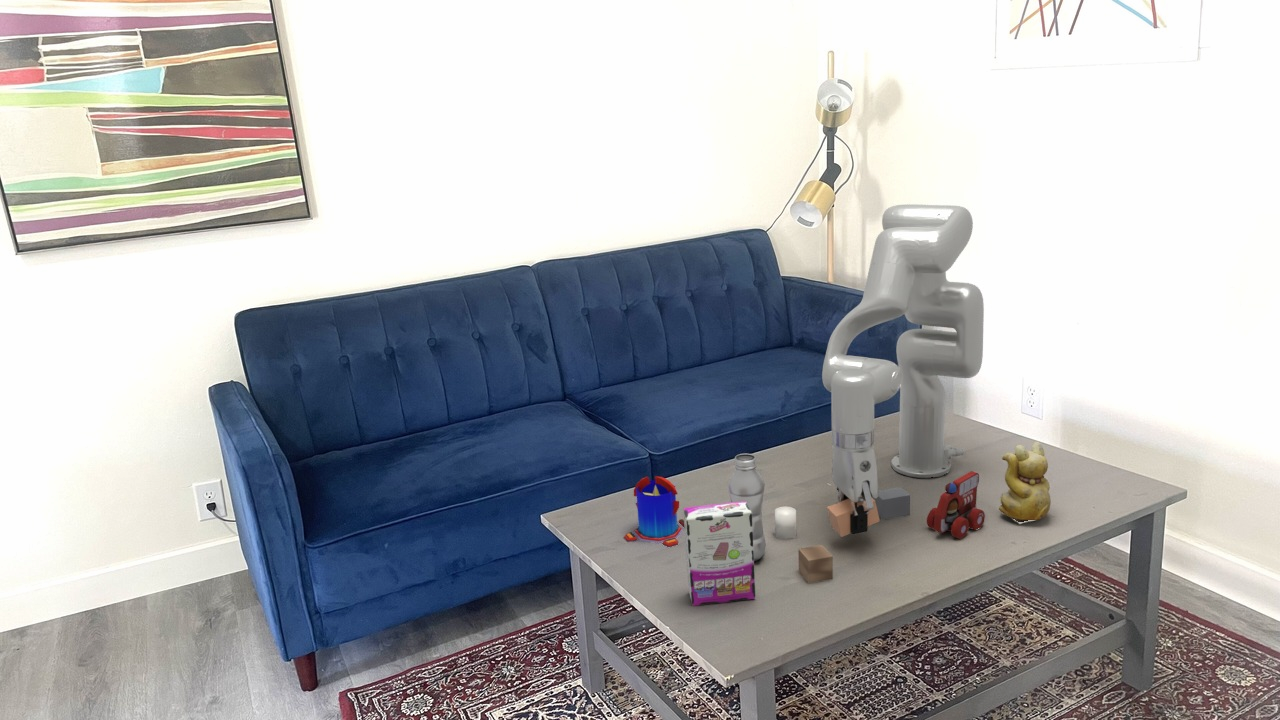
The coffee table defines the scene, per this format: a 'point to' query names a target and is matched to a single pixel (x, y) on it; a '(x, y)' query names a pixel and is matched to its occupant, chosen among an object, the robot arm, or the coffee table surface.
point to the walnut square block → (815, 563)
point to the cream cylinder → (785, 522)
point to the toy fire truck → (958, 507)
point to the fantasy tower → (656, 512)
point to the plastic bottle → (749, 496)
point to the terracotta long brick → (848, 516)
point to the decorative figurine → (1026, 484)
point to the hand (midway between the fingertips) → (853, 526)
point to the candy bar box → (719, 553)
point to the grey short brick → (893, 503)
